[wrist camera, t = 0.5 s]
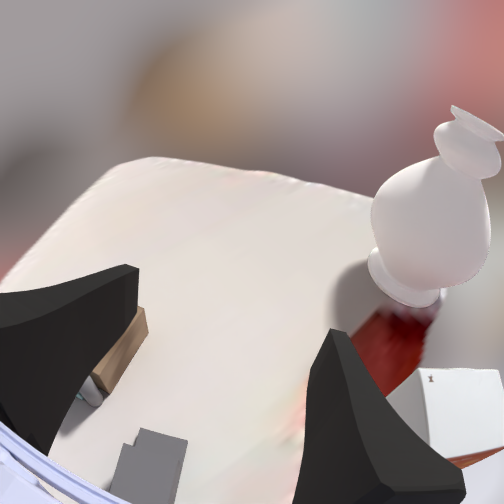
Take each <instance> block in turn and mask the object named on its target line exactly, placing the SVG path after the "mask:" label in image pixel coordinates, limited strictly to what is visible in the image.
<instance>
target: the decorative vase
mask: <svg viewBox="0 0 504 504" xmlns="http://www.w3.org/2000/svg"><path fill="white" fill-rule="evenodd" d="M451 112H452V114H453V115H454V116H455V117H456V118H455V121H450V122H446V123H443V124H441V125H439V126H438V127H437V128H436V129H435V132H434V141H435V144H436V146H437V149H438V151H439V153H440V155H439V156H437V157H434V158H430V159H427V160H424V161H421V162H419V163H416V164H413V165H411V166H409V167H407V168H405V169H403V170H401V171H400V172H398V173H396V174H395V175H393V176H392V177H391V178H389V179H388V180H387V181H386V182H385V183H384V184H383V185H382V186H381V187H380V189H379V190H378V192H377V194H376V196H375V198H374V200H373V203H372V207H371V225H372V230H373V234H374V237H375V240H376V244H377V247H376V248H374V249H373V250H372V251H371V253H370V255H369V257H368V261H367V265H368V270H369V273H370V275H371V277H372V279H373V280H374V282H375V283H376V284H377V286H378V287H379V288H380V289H381V290H382V291H383V292H384V293H386V294H387V295H388V296H389V297H391V298H392V299H394V300H396V301H398V302H399V303H402V304H404V305H407V306H410V307H416V308H423V307H428V306H430V305H432V304H433V303H434V302H435V301H436V300H437V299H438V297H439V295H440V288H446V287H451V286H455V285H459V284H461V283H464V282H466V281H468V280H470V279H471V278H473V277H474V276H475V275H476V274H477V273H478V272H479V270H480V269H481V267H482V266H483V264H484V262H485V260H486V258H487V255H488V252H489V248H490V240H491V239H490V238H491V226H490V217H489V210H488V206H487V201H486V197H485V193H484V190H483V186H482V183H481V179H485V178H489V177H492V176H494V175H496V174H497V173H498V172H499V171H500V168H501V159H500V155H499V152H498V150H497V148H496V146H495V141H504V134H503V133H502V132H500V131H499V130H497V129H496V128H494V127H493V126H491V125H490V124H488V123H486V122H485V121H483V120H481V119H479V118H478V117H476V116H474V115H472V114H470V113H468V112H466V111H464V110H462V109H460V108H458V107H456V106H453V105H452V107H451Z"/></svg>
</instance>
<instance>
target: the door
mask: <svg viewBox="0 0 504 504" xmlns="http://www.w3.org/2000/svg"><path fill="white" fill-rule="evenodd" d="M76 397H77V398H79V399H82V400H83V399H84V398H85V400H86V401H87V402H88V403H89V405H91V406H93V407H98V406H100V405H101V404H102V402H103V396H102V394H101V393H100V391H99V390H98V388H97V386H96V385H95V383H94V382H93V380H92V379H91V377H90V375H89V376H88V378H87V379H86V381H85V382H84V384H83V386H82V387H81V389H80V390H79V392H78V394H77V395H76Z"/></svg>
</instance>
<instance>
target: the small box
mask: <svg viewBox="0 0 504 504" xmlns="http://www.w3.org/2000/svg"><path fill="white" fill-rule="evenodd" d="M385 398H386V399H387V401H388V402H389V403H390V405H391V406H392V407H393V408H394V410H395V411H396V412H397V413H398V415H399V416H400V417H401V418H402V419H403V420H404V422H405V423H406V424H407V425H408V426H409V427H410V428H411V429H412V430H413V431H414V432H415V433H416V434H417V435H418V436H419V437H420V438H421V439H422V440H423V441H424V442H426V443H427V444H428V445H429V446H430V447H431V448H433V449H434V450H435V451H436V452H437V453H439V454H440V455H441V456H443V457H444V458H445V459H447V460H448V461H450V462H451V463H453V464H454V465H456V466H457V467H458V468H460V469H463V468H465V467H468V466H469V465H472V464H474V463H476V462H478V461H481V460H483V459H485V458H487V457H489V456H491V455H493V454H495V453H497V452H499V451H501V450H503V449H504V390H503V386H502V382H501V379H500V375H499V371H498V370H491V369H468V368H451V369H443V368H417V369H416V370H415V371H414V372H413V373H412V374H411V375H410V376H409V377H408V378H407V379H406V380H405V381H403V382H402V383H401V384H400V385H399V386H398V387H397V388H396V389H395V390H393V391H392V392H391V393H390V394H389V395H388V396H386V397H385Z"/></svg>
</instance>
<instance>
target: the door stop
mask: <svg viewBox="0 0 504 504" xmlns="http://www.w3.org/2000/svg"><path fill="white" fill-rule="evenodd" d="M187 444H188V441H187V440H184V439H180V438H176V437H172V436H168V435H164V434H161V433H157V432H154V431H150V430H147V429H143V428H140V430H139V434H138V437H137V440H136V444H135V446H131V445H128V444H125V443H123V447H122V450H121V453H120V456H119V460H118V463H117V467H116V470H115V474H114V477H113V481H112V484H111V488H110V491H109V493H110V494H112V495H114V496H116V497H118V498H120V499H122V500H124V501H127V502H129V503H131V504H174V501H175V497H176V492H177V488H178V483H179V479H180V474H181V470H182V466H183V461H184V457H185V453H186V448H187Z"/></svg>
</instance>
